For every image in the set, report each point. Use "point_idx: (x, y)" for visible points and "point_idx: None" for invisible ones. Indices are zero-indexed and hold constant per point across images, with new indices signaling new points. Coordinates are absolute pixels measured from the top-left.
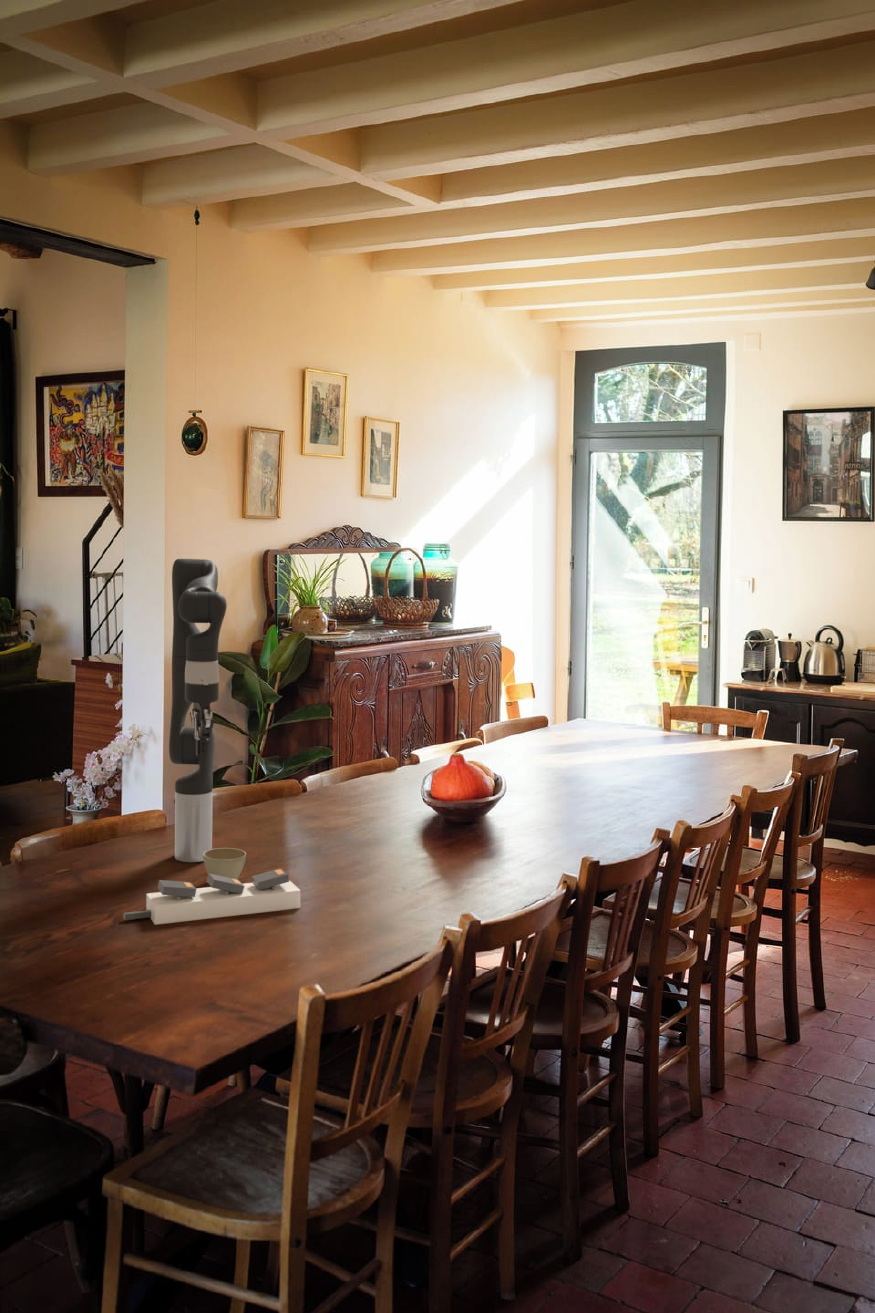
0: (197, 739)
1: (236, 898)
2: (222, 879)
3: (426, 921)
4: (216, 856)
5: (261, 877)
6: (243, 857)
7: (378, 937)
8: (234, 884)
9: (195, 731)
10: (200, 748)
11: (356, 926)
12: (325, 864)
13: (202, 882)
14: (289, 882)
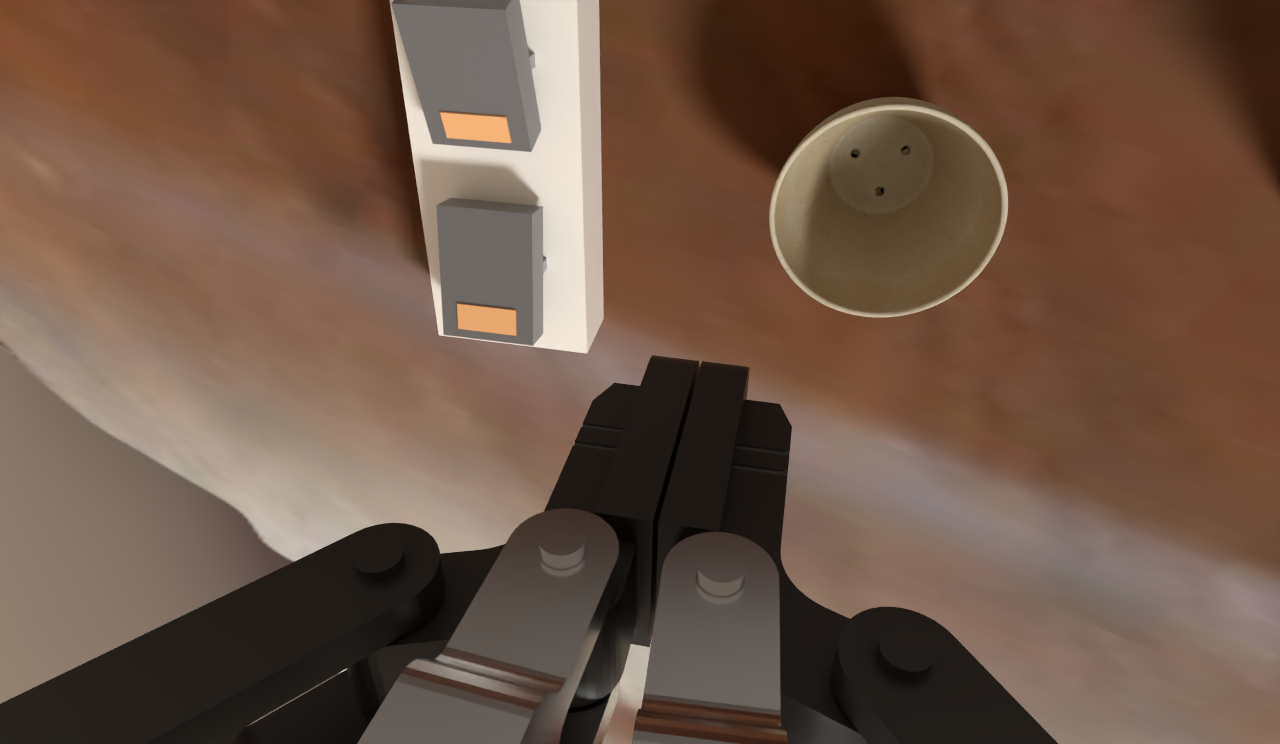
0: (543, 522)
1: (404, 81)
2: (446, 58)
3: (291, 521)
4: (989, 195)
5: (484, 241)
6: (795, 280)
7: (180, 377)
8: (420, 100)
9: (701, 669)
10: (575, 448)
11: (271, 369)
12: (908, 561)
13: (943, 71)
14: (543, 340)
